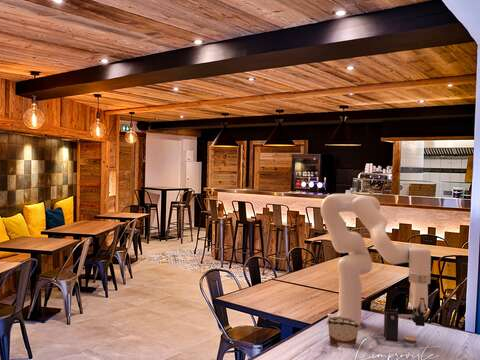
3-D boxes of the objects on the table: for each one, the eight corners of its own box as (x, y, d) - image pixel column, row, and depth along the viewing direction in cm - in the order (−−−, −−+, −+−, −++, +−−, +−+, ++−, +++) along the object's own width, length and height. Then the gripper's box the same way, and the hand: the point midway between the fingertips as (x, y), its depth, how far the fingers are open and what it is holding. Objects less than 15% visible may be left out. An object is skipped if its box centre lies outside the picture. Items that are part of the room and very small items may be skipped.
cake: (404, 345, 185) (404, 338, 185) (402, 341, 190) (402, 334, 190) (417, 347, 184) (417, 340, 184) (414, 343, 188) (415, 336, 188)
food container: (358, 343, 187) (359, 318, 187) (359, 348, 181) (360, 323, 181) (325, 339, 191) (326, 315, 191) (326, 344, 185) (326, 319, 185)
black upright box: (402, 340, 191) (402, 309, 191) (406, 347, 184) (407, 315, 183) (375, 337, 194) (376, 307, 194) (378, 344, 186) (379, 312, 186)
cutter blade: (422, 319, 187) (422, 311, 187) (424, 321, 184) (423, 313, 184) (387, 318, 191) (386, 310, 191) (388, 320, 188) (387, 312, 188)
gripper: (404, 273, 195) (404, 317, 195) (413, 282, 179) (412, 329, 179) (424, 275, 192) (424, 319, 192) (435, 283, 177) (434, 331, 177)
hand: (418, 323), depth 186 cm, fingers closed on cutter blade, 3 cm apart
